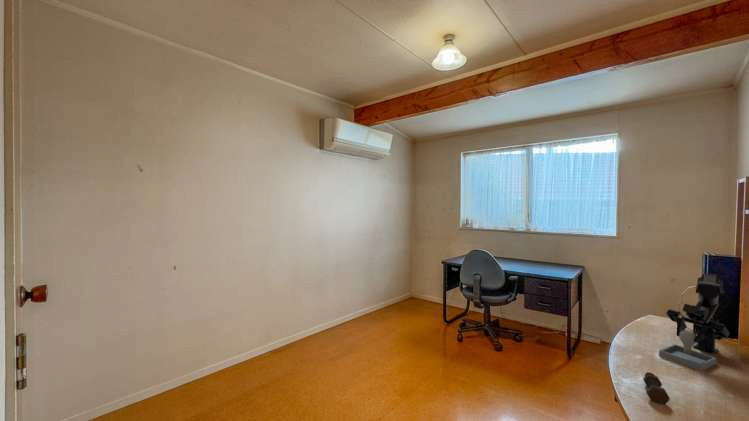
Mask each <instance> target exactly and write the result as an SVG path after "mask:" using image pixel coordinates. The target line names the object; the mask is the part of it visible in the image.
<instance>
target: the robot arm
mask: <svg viewBox="0 0 749 421" xmlns="http://www.w3.org/2000/svg"><path fill="white" fill-rule="evenodd" d="M718 277H719V276H718V275H716V274H711V273H702V276H700V277H698V278H697V284H696V287H695V294H697V298H698V302H697V303H696V304H695V305H692V304H687V303H684V305H683V308H682V312H685V315H686V316H684V315H683V314H682V313H681V311H678V310H675V309H669V308H668V309H667V311H666V312H665V314H666V315H667V317H668V318H669V320H670V321H671V322H674V323H676V334H675V335H676V337H679V333H680V332H681V331H683V330H687V327H688V326H687V324H686V323H689V324H692V332H694V333H695V334H696V337H695V339H694V342H695V344H694V345H693V346H692V347H693V348H694V349H697V350H701V351H704V352H706V353H710V354H714V353H716V352H719V349H718V348H716V341H717V340H718V341H720V340H723V339H728V338H729V336H730V335H731V334H730V331H729V330H728V328H727V327H726V326H725V324H723V323H719V322H720V321H719V317H718V316H717V315H715V312H717V311H716V310H717V309H718V307H719V306H720V303H719V299H720V298H722V297H725V290H724V289H723V281H722V280H721V279H720V278H718Z"/></svg>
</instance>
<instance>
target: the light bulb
mask: <svg viewBox="0 0 749 421" xmlns="http://www.w3.org/2000/svg"><path fill="white" fill-rule="evenodd" d="M696 336H697V334H695V333H694V332H693V330H689V329H685V330H683V331H681V332H680V333H679V336H678V337H679V340H680V342H681V343H682V344H683V347H684V353H686V354H691V350H692V347H693V346H694V345H696V343H695V342H694V339H695V337H696Z"/></svg>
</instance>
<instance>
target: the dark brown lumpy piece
mask: <svg viewBox="0 0 749 421" xmlns="http://www.w3.org/2000/svg"><path fill="white" fill-rule="evenodd" d="M642 381H643V382H644V384H645V386H647V388H648V389H646V391H645V393H646V394H647V396H648V398H649V399H650V400H651V402H653V403H655V404H659V405H663V404H664V405H666V404H667V403H669V401H670V400H671V397H670V396H669V395H668V393H667V391H666V390H665V388H664V387H662V386H663V383H662V382H661V380H660V379H659V377H658V376H657V375H655V374H654V373H651V372H645V373H644V376H643V380H642Z"/></svg>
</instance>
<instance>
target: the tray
mask: <svg viewBox="0 0 749 421" xmlns="http://www.w3.org/2000/svg"><path fill="white" fill-rule="evenodd" d="M658 356H659V357H661V358H663V359H666V360H669V361H672V362H674V363H677V364H680V365H683V366H685V367H688V368H691V369H693V370H696V371H699V372H703V371H704V370H707V369H709V368H711V367H713V366H715V365H716V364H717V357H714V356H712V355H709V354H705V353H703V352H699V351H697V350H694V349H691V354H686V353H684V346H682V345H679V344H675V343H674V344H672V345H669V346H667V347H664V348H661V349H659V350H658Z"/></svg>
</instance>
